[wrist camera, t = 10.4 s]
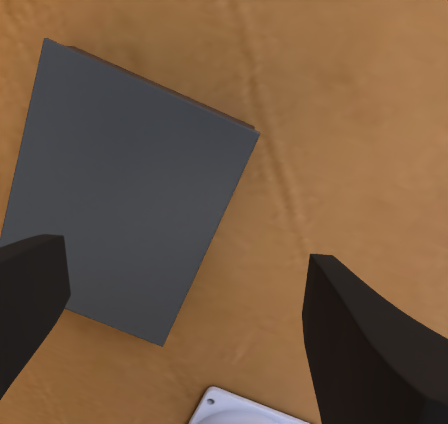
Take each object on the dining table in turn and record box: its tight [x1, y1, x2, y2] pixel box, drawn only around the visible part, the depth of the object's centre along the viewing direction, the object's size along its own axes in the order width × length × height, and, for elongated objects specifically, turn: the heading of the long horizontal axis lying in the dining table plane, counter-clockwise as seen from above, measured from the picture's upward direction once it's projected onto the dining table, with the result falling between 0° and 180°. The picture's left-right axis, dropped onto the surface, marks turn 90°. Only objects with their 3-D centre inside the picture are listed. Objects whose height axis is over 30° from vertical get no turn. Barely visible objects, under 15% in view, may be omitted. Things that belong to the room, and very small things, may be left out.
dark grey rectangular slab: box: [0, 38, 260, 347], centre depth 20 cm, size 13×10×2 cm
